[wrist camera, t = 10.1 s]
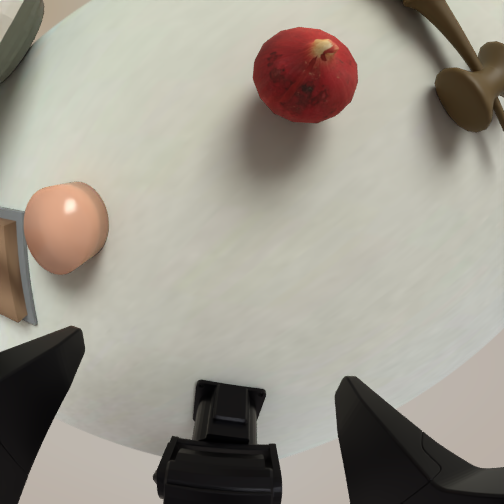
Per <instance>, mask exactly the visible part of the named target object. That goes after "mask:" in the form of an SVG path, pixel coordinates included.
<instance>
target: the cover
mask: <svg viewBox="0 0 504 504" xmlns="http://www.w3.org/2000/svg"><path fill="white" fill-rule="evenodd" d="M0 314H2V315H4V316H6V317H8V318H10V319H12V320H14V321H16V322H18V323H19V322H20V321H21V320H22V319H23V318H24V317H25V316H27V315H28V314H27V309H26V304H25V299H24V293H23V287H22V281H21V273H20V266H19V256H18V245H17V230H16V221H13V220H8V219H4V218H0Z"/></svg>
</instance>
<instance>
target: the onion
mask: <svg viewBox="0 0 504 504" xmlns="http://www.w3.org/2000/svg"><path fill="white" fill-rule="evenodd" d="M253 80H254V83H255V86H256V88H257V91H258V94H259V96H260V98H261V99H262V101H263V102H264V103H265V104H266V105H267V106H268V107H269V108H270V109H271V111H272V112H273V113H274V114H277V115H279V116H281V117H283V118H285V119H288V120H290V121H292V122H304V123H319V122H321V121H324V120H326V119H329V118H331V117H334V116H336V115H337V114H339V113H340V112H341V111H342V110H343V109H344V108H345V107H346V106H347V105H348V104H349V103H350V102H351V100H352V98H353V95H354V92H355V89H356V86H357V83H358V74H357V64H356V62H355V60H354V58H353V56H352V55H351V53H350V51H349V49H348V48H347V47H346V46H345V45H344V44H343V43H341V42H340V41H339V40H338V39H337V38H336V37H334V36H332V35H330V34H328V33H326V32H324V31H322V30H320V29H312V28H303V27H297V28H293V29H288V30H284V31H280V32H279V33H277V34H276V35H274V36H273V37H272V38H270V39H269V40H268V41H266V42H265V43H264V44H263V46H262V48H261V49H260V51H259V53H258V55H257V57H256V59H255V62H254V71H253Z"/></svg>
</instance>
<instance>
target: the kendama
mask: <svg viewBox="0 0 504 504" xmlns="http://www.w3.org/2000/svg"><path fill="white" fill-rule="evenodd" d="M402 1H403V5H404V6H405V7H409V8H412V9H415V10H417V11H418V12H420V13H421V14H422V15H423V16H425V17H426V18H427V19H428V20H429V21H430V22H431V23H432V24H433V25H434V26H435V27H436V28H437V29H438V30H439V31H440V32H441V33H442V34H443V35H444V36H445V37H446V38H447V40H448V41H449V42H450V43H451V44H452V45H453V47H454V48H455V49H456V50H457V51H458V53H459V54H460V55H461V57H462V58H463V59H464V61H465V62H466V64H467V65H468V66H469V68H470V69H471V71H472V72H469V71H466V70H463V69H460V68H446V69H443V70H442V71H441V72H440V73H438V74H437V76H436V80H435V87H436V92H437V95H438V97H439V99H440V101H441V103H442V105H443V107H444V108H445V110H446V111H447V113H448V114H449V116H450V117H451V118H452V119H453V120H454V121H455V122H456V124H457V125H458V126H460V127H462V128H463V129H465V130H467V131H471V132H476V133H477V132H480V131H483V130H485V129H487V127H488V126H489V124H490V123H491V120H492V115H493V109H494V111H495V114H496V116H497V118H498V120H499V122H500V124H501V126H502V129H503V131H504V110H503V108H502V106H501V103H500V101H499V99H498V96H499V95H500V96H502V97H504V44H503V43H500V42H497V41H495V42H487V43H486V44H484V45H483V46H482V47H481V48H480V51H479V54H478V57H477V55H476V53H475V51H474V49H473V48H472V46H471V44H470V42H469V40H468V39H467V37H466V35H465V33H464V32H463V30H462V28H461V26H460V25H459V23H458V21H457V20H456V18H455V16H454V15H453V13H452V11H451V10H450V8H449V6H448V4H447V3H446V1H445V0H402Z"/></svg>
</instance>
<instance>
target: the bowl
mask: <svg viewBox="0 0 504 504" xmlns="http://www.w3.org/2000/svg"><path fill="white" fill-rule="evenodd" d="M43 14H44V3H43V0H0V83H1V82H3V81H4V80H5V79H6V78H7V77H8V76H9V75H10V74H11V73H12V72H13V70H14V69H15V68H16V67H17V66H18V64H19V63H20V61H21V60H22V59H23V57H24V56H25V54H26V52H27V51H28V49H29V48H30V46H31V44H32V42H33V40H34V39H35V36H36V34H37V32H38V30H39V27H40V25H41V22H42V18H43Z"/></svg>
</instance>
